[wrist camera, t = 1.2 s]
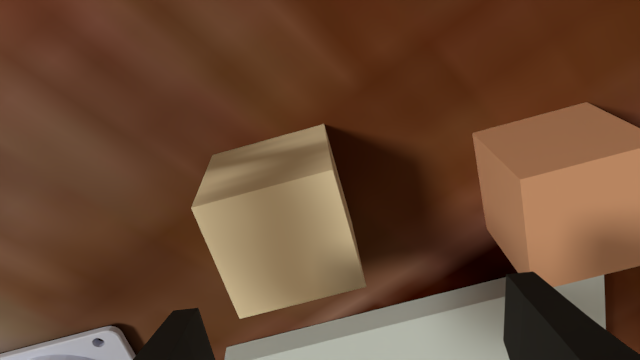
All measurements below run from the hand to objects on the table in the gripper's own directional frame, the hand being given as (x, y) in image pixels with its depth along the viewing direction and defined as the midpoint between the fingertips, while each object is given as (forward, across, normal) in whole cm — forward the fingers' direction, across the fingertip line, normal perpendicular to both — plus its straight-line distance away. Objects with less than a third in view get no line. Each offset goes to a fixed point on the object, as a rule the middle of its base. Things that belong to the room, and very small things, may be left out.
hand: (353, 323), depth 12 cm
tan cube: (+9, -8, +2) cm, 12 cm away
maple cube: (+9, +2, +1) cm, 9 cm away
